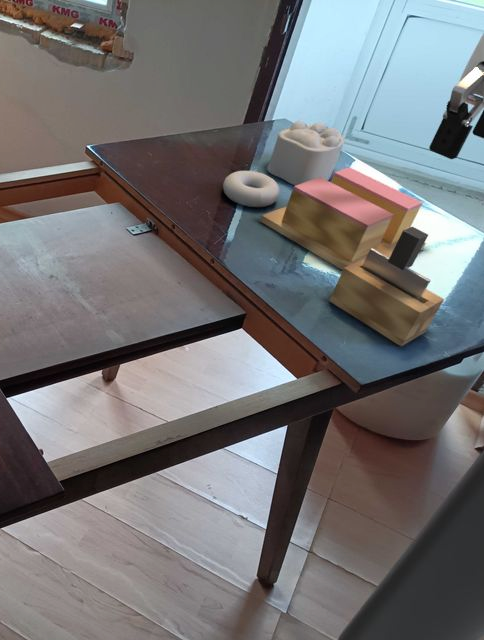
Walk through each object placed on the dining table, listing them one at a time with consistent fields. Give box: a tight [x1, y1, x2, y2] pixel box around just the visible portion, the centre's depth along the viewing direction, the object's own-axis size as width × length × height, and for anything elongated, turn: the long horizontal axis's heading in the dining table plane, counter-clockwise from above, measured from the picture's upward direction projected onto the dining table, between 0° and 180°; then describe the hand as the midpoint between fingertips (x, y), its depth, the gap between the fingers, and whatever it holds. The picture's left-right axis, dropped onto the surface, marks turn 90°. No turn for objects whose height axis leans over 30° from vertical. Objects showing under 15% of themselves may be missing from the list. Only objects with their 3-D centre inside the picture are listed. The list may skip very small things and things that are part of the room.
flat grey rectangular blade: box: [362, 226, 431, 301], centre depth 95 cm, size 9×2×13 cm, turn 34°
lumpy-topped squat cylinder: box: [266, 120, 345, 186], centre depth 132 cm, size 10×13×9 cm
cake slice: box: [330, 166, 423, 244], centre depth 116 cm, size 14×4×7 cm, turn 34°
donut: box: [222, 170, 281, 208], centre depth 124 cm, size 10×3×10 cm
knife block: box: [328, 258, 445, 347], centre depth 98 cm, size 12×6×6 cm, turn 34°
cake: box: [259, 177, 427, 271], centre depth 114 cm, size 20×18×8 cm
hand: (463, 146), depth 82 cm, fingers open, 9 cm apart
